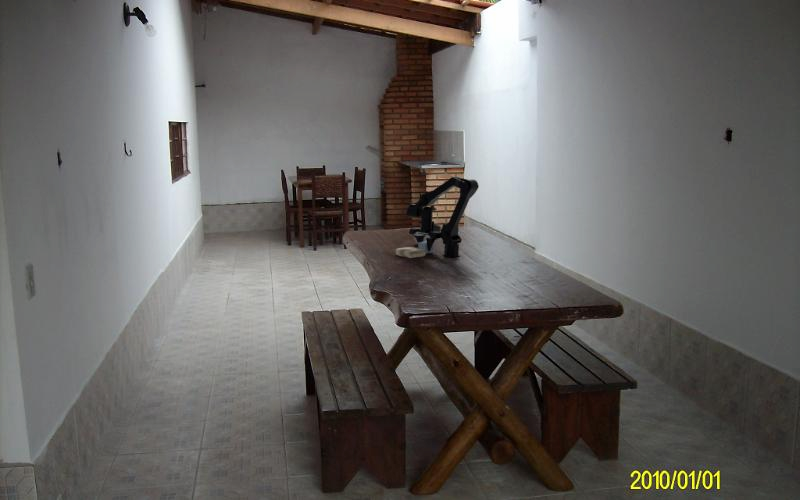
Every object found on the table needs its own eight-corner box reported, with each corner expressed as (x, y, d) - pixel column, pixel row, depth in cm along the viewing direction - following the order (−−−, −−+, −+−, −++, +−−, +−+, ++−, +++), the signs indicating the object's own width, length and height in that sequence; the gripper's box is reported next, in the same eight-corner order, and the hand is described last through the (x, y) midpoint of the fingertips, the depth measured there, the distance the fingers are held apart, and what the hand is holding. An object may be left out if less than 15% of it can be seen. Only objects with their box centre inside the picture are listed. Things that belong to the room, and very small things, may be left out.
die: (427, 248, 378) (436, 232, 380) (413, 239, 377) (422, 223, 380) (424, 251, 386) (432, 235, 389) (409, 242, 385) (418, 226, 388)
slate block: (432, 252, 361) (432, 242, 360) (425, 253, 358) (425, 243, 357) (425, 251, 365) (425, 241, 364) (418, 252, 361) (418, 242, 361)
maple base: (425, 255, 352) (425, 249, 351) (410, 258, 345) (410, 251, 344) (410, 252, 359) (411, 246, 358) (396, 254, 352) (396, 248, 351)
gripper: (451, 220, 357) (450, 251, 360) (424, 215, 371) (423, 246, 373) (435, 221, 350) (434, 253, 352) (408, 217, 363) (408, 248, 366)
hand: (425, 250), depth 361 cm, fingers closed on slate block, 5 cm apart
